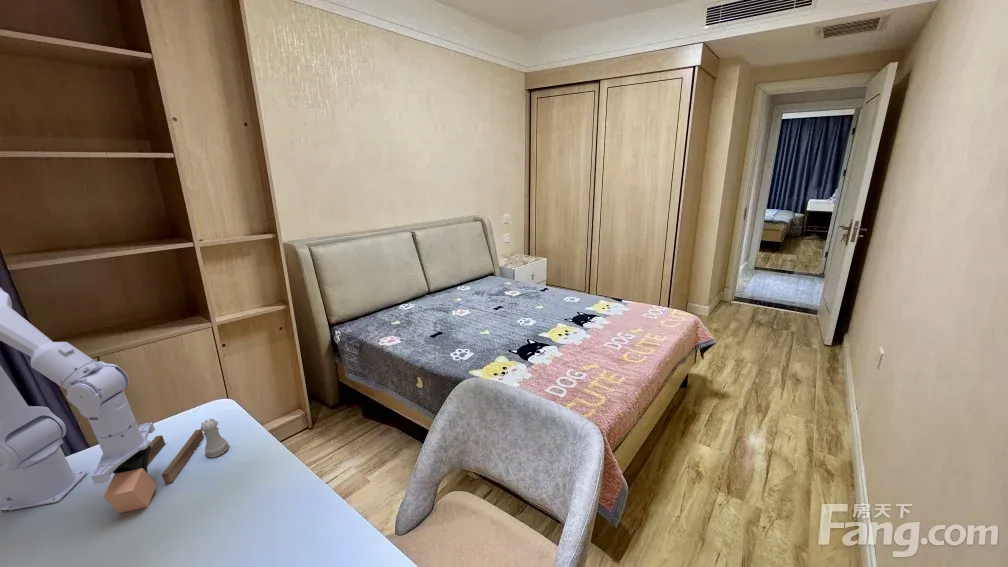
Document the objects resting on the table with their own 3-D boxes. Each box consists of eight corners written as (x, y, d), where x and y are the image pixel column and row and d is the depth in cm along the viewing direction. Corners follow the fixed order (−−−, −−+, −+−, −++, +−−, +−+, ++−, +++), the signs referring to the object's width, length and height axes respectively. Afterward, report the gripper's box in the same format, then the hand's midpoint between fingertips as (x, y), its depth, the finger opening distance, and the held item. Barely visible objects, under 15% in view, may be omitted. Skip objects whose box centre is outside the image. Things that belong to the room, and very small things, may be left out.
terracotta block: (119, 513, 77) (103, 496, 73) (130, 490, 80) (114, 473, 77) (147, 506, 78) (132, 490, 74) (156, 484, 81) (142, 468, 78)
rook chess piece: (220, 458, 89) (210, 428, 87) (201, 458, 90) (190, 429, 87) (233, 444, 94) (224, 415, 91) (215, 444, 94) (205, 415, 91)
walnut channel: (119, 492, 81) (115, 482, 81) (159, 444, 94) (156, 436, 94) (172, 483, 83) (168, 473, 82) (204, 437, 96) (201, 429, 95)
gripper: (114, 450, 70) (140, 509, 75) (162, 402, 84) (181, 454, 88) (66, 458, 69) (95, 518, 73) (122, 407, 82) (144, 460, 87)
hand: (140, 484), depth 81 cm, fingers closed
